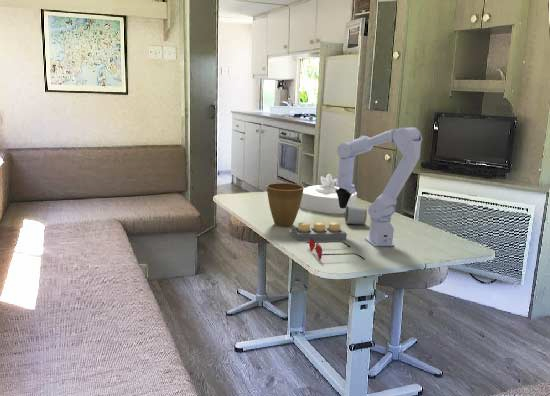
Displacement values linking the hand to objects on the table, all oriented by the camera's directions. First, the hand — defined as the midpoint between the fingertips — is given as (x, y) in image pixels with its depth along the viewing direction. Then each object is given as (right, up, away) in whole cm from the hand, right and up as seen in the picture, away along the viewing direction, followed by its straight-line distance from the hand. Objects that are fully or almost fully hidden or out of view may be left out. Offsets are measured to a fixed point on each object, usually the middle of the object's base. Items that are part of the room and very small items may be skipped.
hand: (342, 207), depth 198 cm
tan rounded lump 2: (-4, -9, -5) cm, 11 cm away
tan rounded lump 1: (-10, -9, -6) cm, 15 cm away
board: (-10, -10, -4) cm, 15 cm away
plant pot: (-23, -7, +9) cm, 26 cm away
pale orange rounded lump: (-16, -9, -7) cm, 19 cm away
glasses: (-6, -16, -24) cm, 30 cm away
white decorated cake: (-2, 0, +45) cm, 45 cm away
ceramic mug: (+7, -7, +17) cm, 19 cm away
